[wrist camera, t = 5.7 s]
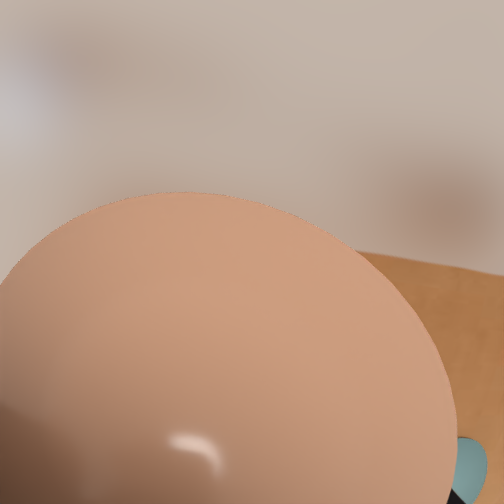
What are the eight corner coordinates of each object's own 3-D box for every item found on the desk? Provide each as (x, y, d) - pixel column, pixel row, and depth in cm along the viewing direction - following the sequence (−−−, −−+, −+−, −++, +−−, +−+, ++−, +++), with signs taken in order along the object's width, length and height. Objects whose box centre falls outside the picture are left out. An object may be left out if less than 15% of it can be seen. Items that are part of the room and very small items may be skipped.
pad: (383, 548, 10) (386, 551, 10) (394, 456, 14) (397, 457, 14) (475, 510, 10) (479, 512, 9) (486, 423, 14) (490, 423, 13)
